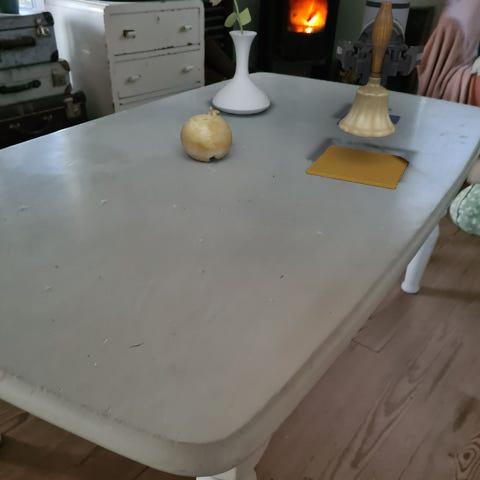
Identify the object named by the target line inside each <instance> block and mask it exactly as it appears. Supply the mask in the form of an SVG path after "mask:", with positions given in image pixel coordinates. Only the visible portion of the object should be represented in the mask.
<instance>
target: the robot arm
mask: <svg viewBox="0 0 480 480" xmlns="http://www.w3.org/2000/svg"><path fill="white" fill-rule="evenodd" d="M383 1H388V2H392V13H393V30H392V35H391V39H390V43H389V45H388V47H387V50H386V52H385V55H384V59H383V67H382V72H381V73H382V74H381V81H380V86H383V87H386V86H387V82H388V77H396V76H397V73H398V72H399V75H401V76H402V77H406V76H409V75H410V74H411V73H412V71H413V70H414V68H415V67H418V66H421V64H422V61H423V55H424V51H425V46H423V45H420V44H419V45H415V46H413V45H412V46H408V45H407V44H405V43H406V42H405V33H406V27H407V22H408V18H409V12H410V7H411V0H365V5H364V11H363V16H362V17H363V18H362V25H361V31H360V33H359V36H358V38H357V40H355V41H353V43H352V41H348V40H345V39H343V38H342V39H338V40H337V46H336V55H335V58H336V59H337V60H339V61H340V62H341V65H342V68H343V71H345V72H350V71H353V68H354V69H355V70H354V72H355V76H354V77H355V79H361V83H360V84H361V85H367V83H368V80H369V77H370V76H369V73H370V67H371V62H372V55H373V51H372V30H373V24H374V21H375V18H376V16H377V13H378V11H379V9H380V6H381V3H382V2H383Z"/></svg>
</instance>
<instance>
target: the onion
mask: <svg viewBox="0 0 480 480" xmlns="http://www.w3.org/2000/svg"><path fill="white" fill-rule="evenodd" d="M209 110H210V111H208V112H207V113H198V114H195V115H194V116H192V117H190V118H189V119H187V120H186V121H185V123H184V124H183V126H182V128H181V130H180V135H179V136H180V137H179V138H180V143H181V146H182V148H183V150H184V152H185V153H186V154H187V156H189V157H190V158H192V159H193V160H196V161H200V162H206V163H209V162H211V161H212V160H211V158H215V159H216V160H220V159H222V158H224V157H225V156H226V155H227V154H228V153H229V151H230V150H231V148H232V145H233V133H232V129H231V127H230V125H229V124H228V122H227V120H225V119H224V118H223V117H222V116H220V113H221V112H220V110H219V109H213V107H212V106H211V105H210V106H209Z"/></svg>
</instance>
